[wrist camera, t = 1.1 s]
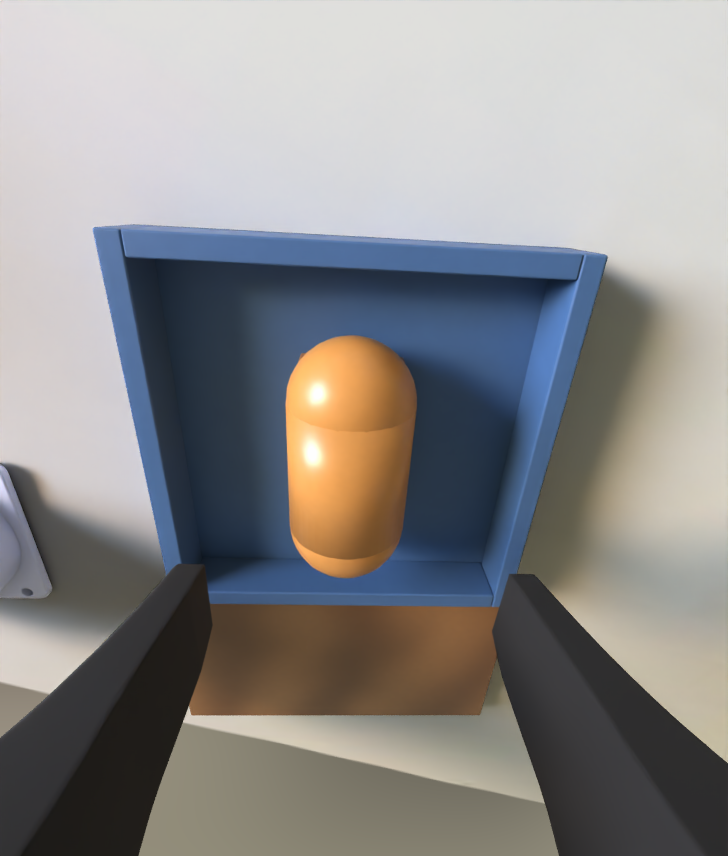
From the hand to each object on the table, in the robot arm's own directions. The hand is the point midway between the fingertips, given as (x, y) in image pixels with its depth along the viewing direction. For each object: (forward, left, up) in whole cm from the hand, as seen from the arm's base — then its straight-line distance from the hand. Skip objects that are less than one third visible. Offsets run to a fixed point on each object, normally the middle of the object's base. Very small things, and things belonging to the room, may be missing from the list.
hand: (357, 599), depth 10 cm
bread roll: (0, 0, -9) cm, 9 cm away
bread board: (0, -15, -9) cm, 18 cm away
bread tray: (0, 0, -9) cm, 9 cm away
